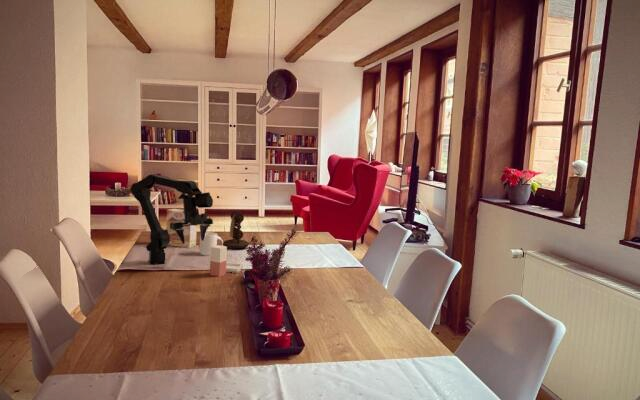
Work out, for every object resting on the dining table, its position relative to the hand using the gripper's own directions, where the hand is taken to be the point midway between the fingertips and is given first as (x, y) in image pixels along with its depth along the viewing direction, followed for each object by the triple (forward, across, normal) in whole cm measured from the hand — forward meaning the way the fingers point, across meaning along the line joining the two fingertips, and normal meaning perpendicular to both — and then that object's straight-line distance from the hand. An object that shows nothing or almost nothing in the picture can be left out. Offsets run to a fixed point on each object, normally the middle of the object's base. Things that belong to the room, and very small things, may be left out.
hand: (193, 242), depth 223 cm
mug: (+11, +19, +22) cm, 32 cm away
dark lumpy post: (+12, +38, +31) cm, 51 cm away
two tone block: (+14, +4, -14) cm, 20 cm away
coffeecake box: (+8, +13, +47) cm, 50 cm away
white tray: (+14, +13, -9) cm, 21 cm away
